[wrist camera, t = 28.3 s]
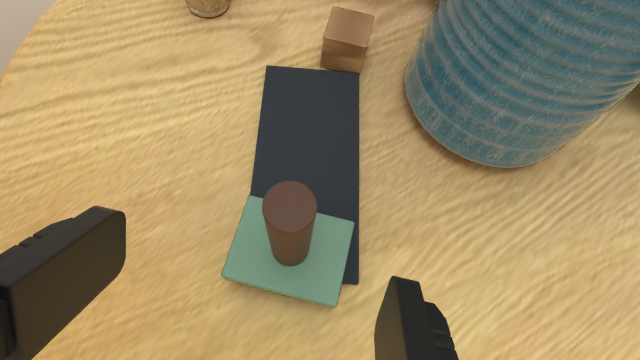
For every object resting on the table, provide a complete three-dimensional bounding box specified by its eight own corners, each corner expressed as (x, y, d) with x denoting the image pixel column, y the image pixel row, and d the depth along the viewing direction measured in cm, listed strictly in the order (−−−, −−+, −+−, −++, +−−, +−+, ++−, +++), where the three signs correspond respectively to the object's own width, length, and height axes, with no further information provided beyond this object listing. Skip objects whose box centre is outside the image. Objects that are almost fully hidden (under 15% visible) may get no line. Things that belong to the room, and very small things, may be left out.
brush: (227, 281, 27) (183, 245, 16) (252, 207, 29) (229, 131, 18) (332, 309, 27) (360, 291, 16) (348, 232, 29) (383, 170, 18)
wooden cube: (320, 66, 36) (323, 36, 33) (329, 37, 38) (333, 5, 34) (359, 76, 36) (366, 47, 32) (366, 46, 38) (374, 15, 34)
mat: (240, 278, 28) (239, 277, 27) (267, 69, 36) (266, 65, 35) (357, 284, 28) (358, 283, 28) (358, 76, 36) (358, 72, 35)
